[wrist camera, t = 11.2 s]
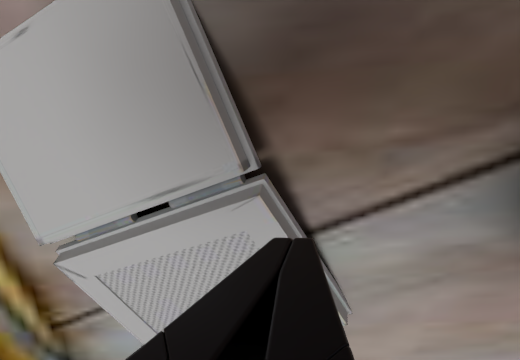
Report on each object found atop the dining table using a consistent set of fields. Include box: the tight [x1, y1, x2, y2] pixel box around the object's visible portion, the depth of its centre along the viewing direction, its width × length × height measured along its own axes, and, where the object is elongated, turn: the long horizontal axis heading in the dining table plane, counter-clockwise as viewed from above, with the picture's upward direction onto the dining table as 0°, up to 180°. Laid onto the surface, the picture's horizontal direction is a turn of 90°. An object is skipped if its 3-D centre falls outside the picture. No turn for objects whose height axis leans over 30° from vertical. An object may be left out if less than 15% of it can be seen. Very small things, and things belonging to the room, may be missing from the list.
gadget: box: [0, 0, 352, 344], centre depth 25 cm, size 23×15×4 cm, turn 27°
